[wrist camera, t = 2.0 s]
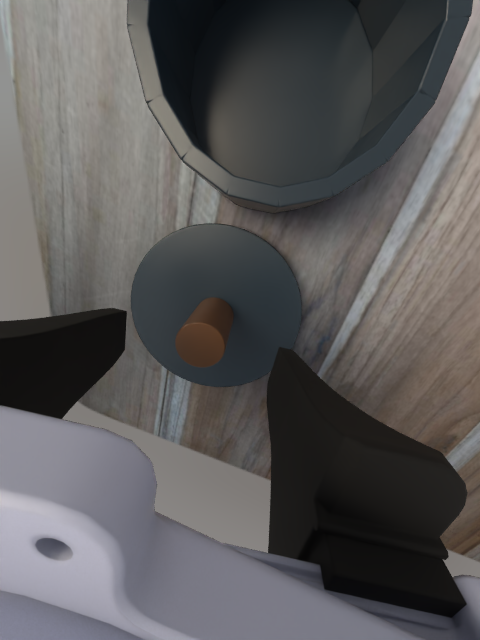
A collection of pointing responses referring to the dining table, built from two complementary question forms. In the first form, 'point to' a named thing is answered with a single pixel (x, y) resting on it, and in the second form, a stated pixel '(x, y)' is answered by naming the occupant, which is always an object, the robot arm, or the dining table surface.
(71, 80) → the dining table surface
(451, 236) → the dining table surface
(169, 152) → the dining table surface
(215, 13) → the pot
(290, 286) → the lid
